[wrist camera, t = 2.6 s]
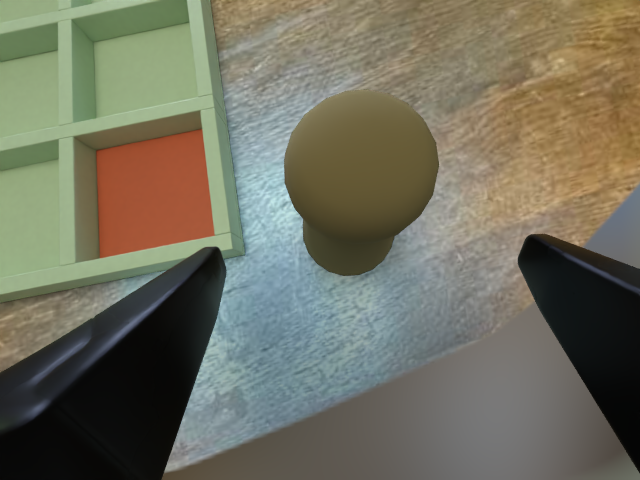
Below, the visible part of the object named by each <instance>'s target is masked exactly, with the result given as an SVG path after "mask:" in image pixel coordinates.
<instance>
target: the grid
mask: <svg viewBox="0 0 640 480" xmlns="http://www.w3.org/2000/svg"><path fill="white" fill-rule="evenodd" d="M212 246H217V247H219V248H220V250H221V253H222V256H223V259H226V258H231V257H236V256H241V255H245V250H244V243H243V235H242V228H241V221H240V214H239V206H238V199H237V192H236V185H235V177H234V170H233V163H232V155H231V148H230V141H229V134H228V126H227V119H226V112H225V105H224V97H223V90H222V83H221V75H220V68H219V61H218V54H217V46H216V39H215V32H214V24H213V17H212V10H211V3H210V0H0V303H2V302H7V301H12V300H17V299H22V298H27V297H32V296H37V295H42V294H47V293H52V292H58V291H63V290H68V289H73V288H78V287H83V286H88V285H93V284H98V283H103V282H108V281H114V280H119V279H124V278H129V277H134V276H139V275H144V274H149V273H154V272H159V271H165V270H169V269H170V268H172V267H173V266H175V265H177V264H178V263H180V262H181V261H183V260H185V259H186V258H188V257H189V256H191V255H192V254H194V253H196V252H197V251H199V250H200V249H202V248H204V247H212Z"/></svg>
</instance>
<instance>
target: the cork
mask: <svg viewBox="0 0 640 480" xmlns="http://www.w3.org/2000/svg"><path fill="white" fill-rule="evenodd" d="M438 168H439V161H438V154H437V147H436V142H435V140H434V138H433V136H432V134H431V132H430V130H429V128H428V126H427V124H426V123H425V121H424V119H423V118H422V117H421V116H420V115H419V114H418V113H417V112H416V111H415V110H414V109H413V108H412V107H411V106H410V105H409V104H408V103H406V102H404V101H402V100H400V99H398V98H396V97H395V96H393V95H391V94H389V93H384V92H379V91H374V90H369V89H364V90H352V91H345V92H342V93H339V94H337V95H334V96H331V97H329V98H326V99H325V100H323V101H322V102H321V103H319V104H318V105H317V106H315V107H314V108H313V109H311V110H310V111H309V112H308V113H306V114H305V115H304V116H303V118H302V119H301V121H300V122H299V123H298V125H297V126H296V128H295V129H294V130H293V132H292V134H291V137H290V140H289V143H288V146H287V150H286V153H285V159H284V174H285V185H286V188H287V190H288V193H289V196H290V198H291V201H292V204H293V206H294V208H295V209H296V211H297V212H298V213H299V214H300V216H301V217H302V218H303V240H304V243H305V245H306V248H307V250H308V253H309V254H310V255H311V257H312V258H313V259H314V260H315V262H316V263H317V264H318V265H320V266H321V267H323V268H324V269H326V270H327V271H329V272H332V273H336V274H339V275H343V276H348V275H360V274H362V273H365V272H367V271H370V270H372V269H374V268H375V267H376V266H377V265H378V264H380V263H381V262H382V261H383V260H384V259H385V257H386V256H387V254H388V252H389V251H390V249H391V247H392V243H393V240H394V237H395V235H398V234H399V233H400V232H401V231H402V230H404V229H405V228H406V227H407V226H408V225H410V224H411V223H412V222H413V221H415V220H416V219H417V218H418V217H419V216H420V215H421V214H422V212H423V210H424V209H425V207H426V205H427V204H428V202H429V200H430V199H431V197H432V196H433V192H434V187H435V182H436V177H437V173H438Z"/></svg>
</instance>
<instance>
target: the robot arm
mask: <svg viewBox="0 0 640 480" xmlns="http://www.w3.org/2000/svg"><path fill="white" fill-rule="evenodd" d="M518 265H519V268H520V270H521V272H522V274H523V276H524V278H525V281H526V283H527V285H528V287H529V289H530V291H531V293H532V295H533V297H534V300H535V302H536V304H537V306H538V308H539V309H540V311H541V313H542V315H543V317H544V318H545V320H546V322H547V323H548V325H549V326H550V328H551V330H552V331H553V333H554V335H555V336H556V338H557V339H558V341H559V343H560V344H561V346H562V348H563V349H564V351H565V352H566V354H567V356H568V357H569V359H570V361H571V362H572V364H573V365H574V367H575V369H576V370H577V372H578V374H579V375H580V377H581V379H582V380H583V382H584V383H585V385H586V387H587V388H588V390H589V392H590V393H591V395H592V396H593V398H594V400H595V401H596V403H597V405H598V406H599V408H600V410H601V411H602V413H603V414H604V416H605V418H606V419H607V421H608V423H609V424H610V426H611V427H612V429H613V431H614V432H615V434H616V436H617V437H618V439H619V440H620V442H621V444H622V445H623V447H624V448H625V450H626V452H627V453H628V455H629V457H630V458H631V460H632V462H633V463H634V465H635V467H636V468H637V470H638V471H639V473H640V269H638V268H635V267H633V266H630V265H627V264H625V263H622V262H619V261H616V260H614V259H611V258H609V257H606V256H603V255H601V254H598V253H595V252H592V251H590V250H587V249H585V248H582V247H579V246H577V245H574V244H571V243H568V242H566V241H563V240H560V239H558V238H555V237H552V236H550V235H547V234H531V235H529V236H527V237H526V239H525V241H524V244H523V246H522V249H521V251H520V254H519V256H518ZM225 278H226V266H225V263H224V260H223V256H222V253H221V250H220V248H219V247H217V246H212V247H204V248H202V249H200V250H199V251H197V252H196V253H194V254H192V255H191V256H189V257H188V258H186V259H185V260H183V261H181V262H180V263H178V264H177V265H175V266H173V267H172V268H170V269H169V270H167V271H166V272H164V273H162V274H161V275H159V276H158V277H156V278H155V279H153V280H151V281H150V282H148V283H147V284H145V285H143V286H142V287H140V288H139V289H137V290H136V291H134V292H132V293H131V294H129V295H128V296H126V297H125V298H123V299H121V300H120V301H118V302H117V303H115V304H113V305H112V306H110V307H109V308H107V309H106V310H104V311H102V312H101V313H99V314H98V315H96V316H95V317H94V319H93V318H92V319H90V320H88V321H87V322H85V323H83V324H82V325H80V326H79V327H77V328H76V329H74V330H72V331H71V332H69V333H67V334H66V335H64V336H62V337H61V338H59V339H58V340H56V341H54V342H53V343H51V344H49V345H48V346H46V347H44V348H42V349H41V350H39V351H37V352H36V353H34V354H32V355H30V356H29V357H27V358H25V359H23V360H22V361H20V362H18V363H16V364H15V365H13V366H11V367H9V368H8V369H6V370H4V371H2V372H1V373H0V480H161V479H162V477H163V474H164V471H165V468H166V465H167V462H168V459H169V456H170V453H171V450H172V447H173V445H174V442H175V439H176V436H177V433H178V430H179V427H180V424H181V421H182V418H183V415H184V413H185V410H186V407H187V404H188V401H189V398H190V395H191V392H192V389H193V386H194V383H195V381H196V378H197V375H198V372H199V369H200V366H201V363H202V360H203V357H204V354H205V351H206V349H207V346H208V343H209V340H210V337H211V334H212V331H213V328H214V325H215V322H216V319H217V315H218V311H219V306H220V302H221V297H222V292H223V288H224V283H225Z"/></svg>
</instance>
